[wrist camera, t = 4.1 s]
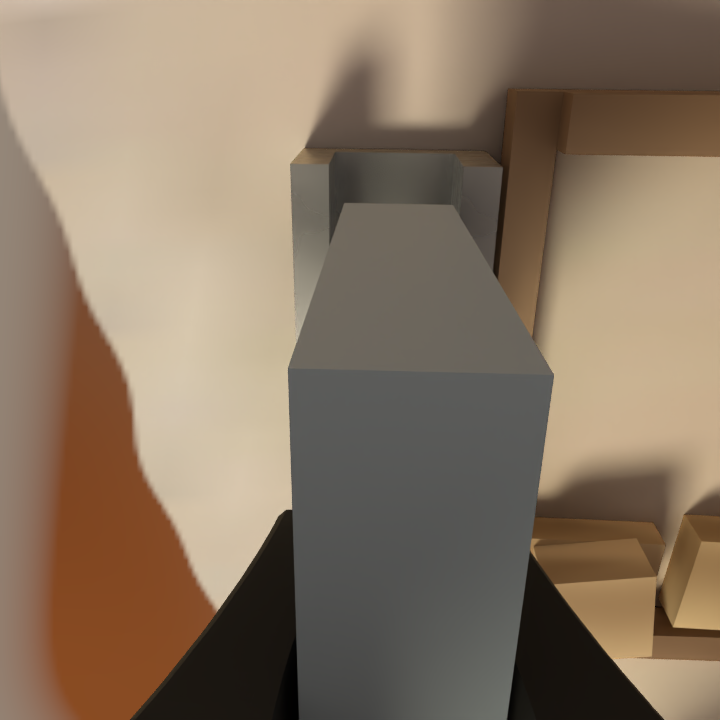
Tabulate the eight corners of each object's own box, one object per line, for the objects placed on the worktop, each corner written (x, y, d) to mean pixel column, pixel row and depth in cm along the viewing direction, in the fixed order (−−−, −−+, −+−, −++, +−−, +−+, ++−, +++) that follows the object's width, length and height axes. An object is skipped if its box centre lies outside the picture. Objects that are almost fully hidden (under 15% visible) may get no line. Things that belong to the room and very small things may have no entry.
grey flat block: (452, 204, 11) (554, 374, 4) (427, 587, 14) (466, 1018, 8) (344, 203, 11) (286, 368, 4) (343, 584, 14) (308, 1010, 8)
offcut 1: (625, 592, 22) (641, 629, 21) (501, 586, 22) (508, 622, 21) (646, 510, 21) (665, 544, 19) (513, 504, 21) (523, 538, 20)
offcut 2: (633, 614, 21) (651, 656, 19) (535, 621, 21) (547, 663, 19) (636, 538, 19) (656, 576, 18) (533, 546, 20) (544, 585, 18)
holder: (458, 463, 20) (468, 519, 17) (311, 460, 20) (301, 514, 17) (485, 150, 16) (503, 167, 14) (304, 147, 16) (290, 163, 14)
